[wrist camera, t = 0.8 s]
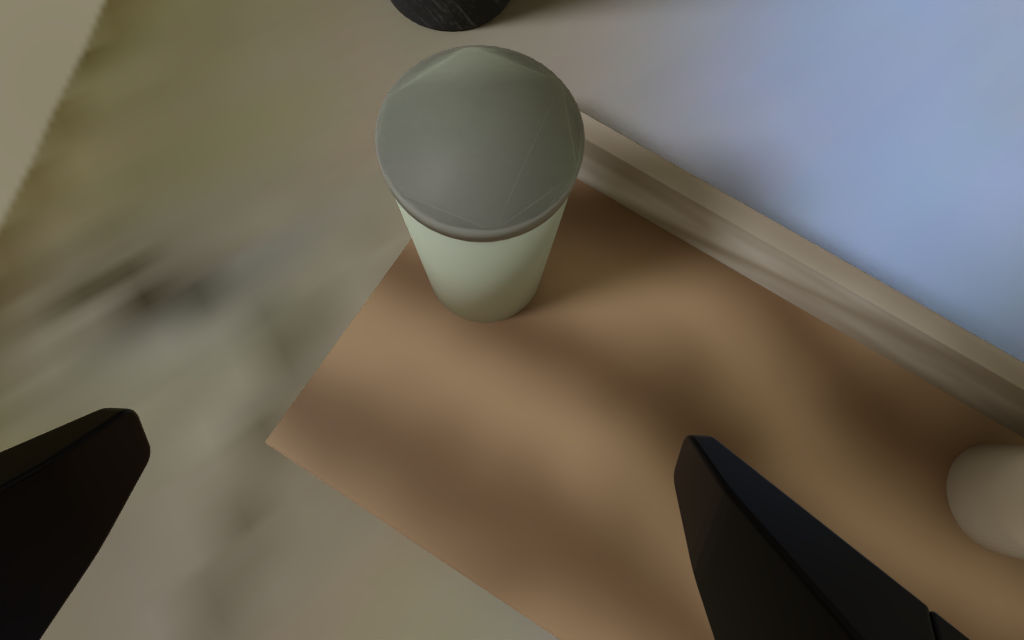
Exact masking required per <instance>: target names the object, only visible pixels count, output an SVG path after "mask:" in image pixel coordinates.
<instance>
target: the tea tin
mask: <svg viewBox="0 0 1024 640" xmlns="http://www.w3.org/2000/svg"><path fill="white" fill-rule="evenodd" d="M375 146H376V152H377V158H378V161H379V164H380V167H381V170H382V172H383V175H384V177H385V180H386V182H387V184H388V186H389V188H390V190H391V192H392V194H393V195H394V197H395V198H396V201H397V203H398V206H399V208H400V211H401V213H402V215H403V218H404V220H405V223H406V225H407V228H408V230H409V233H410V235H411V237H412V240H413V242H414V245H415V247H416V250H417V252H418V254H419V257H420V259H421V262H422V264H423V267H424V269H425V271H426V274H427V276H428V279H429V281H430V284H431V286H432V288H433V290H434V293H435V295H436V296H437V298H438V299H439V301H440V302H441V303H442V304H443V305H444V306H445V307H446V308H447V309H448V310H449V311H451V312H452V313H454V314H455V315H457V316H459V317H461V318H464V319H466V320H469V321H474V322H482V323H488V322H496V321H501V320H504V319H507V318H509V317H511V316H513V315H515V314H516V313H518V312H520V311H521V310H522V309H523V308H524V307H526V305H527V304H528V303H529V302H530V301H531V299H532V298H533V296H534V295H535V293H536V291H537V289H538V286H539V283H540V280H541V277H542V274H543V271H544V268H545V265H546V262H547V259H548V256H549V253H550V250H551V247H552V244H553V241H554V238H555V235H556V232H557V229H558V226H559V223H560V220H561V217H562V214H563V211H564V208H565V205H566V203H567V200H568V197H569V195H570V193H571V191H572V189H573V187H574V185H575V182H576V179H577V176H578V173H579V170H580V167H581V164H582V161H583V156H584V150H585V132H584V124H583V120H582V116H581V113H580V110H579V108H578V105H577V103H576V101H575V99H574V98H573V96H572V94H571V93H570V91H569V90H568V88H567V87H566V86H565V84H564V83H563V82H562V81H561V80H560V79H559V78H558V77H557V76H556V75H555V74H554V73H553V72H552V71H550V70H549V69H548V68H547V67H545V66H544V65H543V64H541V63H539V62H538V61H536V60H534V59H533V58H530V57H528V56H526V55H524V54H522V53H519V52H516V51H513V50H510V49H505V48H500V47H495V46H484V45H475V46H463V47H456V48H452V49H448V50H444V51H441V52H439V53H436V54H434V55H431V56H429V57H427V58H425V59H424V60H422V61H420V62H418V63H417V64H416V65H414V66H413V67H411V68H410V69H409V70H408V71H406V72H405V73H404V74H403V75H402V76H401V77H400V78H399V79H398V80H397V81H396V83H395V84H394V85H393V86H392V88H391V89H390V91H389V92H388V94H387V95H386V97H385V99H384V101H383V104H382V106H381V108H380V111H379V115H378V118H377V123H376V130H375Z"/></svg>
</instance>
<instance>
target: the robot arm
mask: <svg viewBox="0 0 1024 640" xmlns="http://www.w3.org/2000/svg"><path fill="white" fill-rule="evenodd" d="M149 457H150V445H149V442H148V440H147V437H146V435H145V432H144V429H143V427H142V424H141V422H140V419H139V417H138V415H137V413H136V412H134V411H133V410H131V409H123V408H104V409H100V410H97V411H95V412H93V413H90V414H88V415H86V416H84V417H81V418H79V419H77V420H74V421H72V422H70V423H67V424H65V425H63V426H60V427H58V428H56V429H53V430H51V431H49V432H46V433H44V434H42V435H39V436H37V437H35V438H32V439H30V440H28V441H26V442H23V443H21V444H19V445H16V446H14V447H12V448H9V449H7V450H5V451H2V452H0V640H40V639H41V637H42V636H43V634H44V633H45V631H46V630H47V628H48V627H49V625H50V624H51V622H52V621H53V619H54V618H55V616H56V615H57V613H58V612H59V610H60V609H61V607H62V606H63V604H64V603H65V601H66V600H67V598H68V597H69V595H70V594H71V593H72V591H73V590H74V588H75V587H76V585H77V584H78V582H79V581H80V579H81V578H82V576H83V575H84V573H85V572H86V570H87V569H88V567H89V566H90V564H91V563H92V561H93V560H94V558H95V556H96V555H97V553H98V552H99V550H100V548H101V547H102V545H103V543H104V541H105V540H106V538H107V536H108V534H109V533H110V531H111V529H112V527H113V525H114V523H115V522H116V520H117V518H118V516H119V514H120V513H121V511H122V509H123V507H124V505H125V503H126V502H127V500H128V498H129V496H130V494H131V492H132V491H133V489H134V487H135V485H136V483H137V481H138V480H139V478H140V476H141V474H142V472H143V470H144V469H145V467H146V465H147V463H148V460H149ZM674 486H675V491H676V496H677V500H678V505H679V510H680V514H681V519H682V524H683V529H684V533H685V538H686V543H687V548H688V552H689V557H690V561H691V566H692V570H693V574H694V577H695V580H696V584H697V587H698V590H699V593H700V596H701V600H702V603H703V606H704V609H705V612H706V615H707V618H708V621H709V624H710V627H711V630H712V633H713V636H714V639H715V640H970V639H969V638H968V637H966V636H965V635H964V634H962V633H961V632H960V631H959V630H957V629H956V628H955V627H954V626H952V625H951V624H950V623H948V622H947V621H946V620H945V619H943V618H942V617H941V616H940V615H938V614H937V613H936V612H934V611H929V609H928V607H927V605H925V604H924V603H923V602H922V601H920V600H919V599H918V598H917V597H915V596H914V595H913V594H912V593H910V592H909V591H908V590H906V589H905V588H904V587H903V586H901V585H900V584H899V583H898V582H896V581H895V580H894V579H893V578H891V577H890V576H889V575H887V574H886V573H885V572H884V571H882V570H881V569H880V568H879V567H877V566H876V565H875V564H874V563H872V562H871V561H870V560H868V559H867V558H866V557H865V556H863V555H862V554H861V553H860V552H858V551H857V550H856V549H855V548H853V547H852V546H851V545H849V544H848V543H847V542H846V541H844V540H843V539H842V538H841V537H839V536H838V535H837V534H836V533H834V532H833V531H832V530H830V529H829V528H828V527H827V526H825V525H824V524H823V523H822V522H820V521H819V520H818V519H817V518H815V517H814V516H813V515H811V514H810V513H809V512H808V511H806V510H805V509H804V508H803V507H801V506H800V505H799V504H798V503H796V502H795V501H794V500H793V499H791V498H790V497H789V496H787V495H786V494H785V493H784V492H782V491H781V490H780V489H779V488H777V487H776V486H775V485H774V484H772V483H771V482H770V481H768V480H767V479H766V478H765V477H763V476H762V475H761V474H760V473H758V472H757V471H756V470H755V469H753V468H752V467H751V466H749V465H748V464H747V463H746V462H744V461H743V460H742V459H741V458H739V457H738V456H737V455H736V454H734V453H733V452H732V451H730V450H729V449H728V448H727V447H725V446H724V445H723V444H722V443H720V442H719V441H718V440H717V439H715V438H714V437H712V436H709V435H687V436H686V437H685V438H684V440H683V442H682V446H681V449H680V452H679V456H678V459H677V462H676V466H675V469H674Z"/></svg>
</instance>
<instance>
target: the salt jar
mask: <svg viewBox="0 0 1024 640" xmlns="http://www.w3.org/2000/svg"><path fill="white" fill-rule="evenodd" d="M946 491H947V499H948V503H949V506H950V509H951V512H952V514H953V516H954V518H955V520H956V522H957V523H958V525H959V526H960V528H961V529H962V530H963V532H964V533H965V534H966V535H967V536H968V537H969V538H970V539H971V540H973V541H974V542H975V543H976V544H978V545H979V546H981V547H983V548H985V549H987V550H989V551H991V552H994V553H998V554H1002V555H1006V556H1010V557H1015V558H1019V559H1023V560H1024V445H1007V444H980V445H975V446H972V447H970V448H968V449H966V450H964V451H963V452H962V453H960V454H959V455H958V456H957V458H956V459H955V460H954V462H953V463H952V465H951V467H950V469H949V473H948V476H947V485H946Z"/></svg>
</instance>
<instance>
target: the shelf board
mask: <svg viewBox="0 0 1024 640" xmlns="http://www.w3.org/2000/svg"><path fill="white" fill-rule="evenodd" d="M580 113H581V116H582V120H583V124H584V132H585V150H584V156H583V161H582V164H581V167H580V170H579V173H578V176H577V179H576V182H575V185H574V187H573V189H572V191H571V193H570V195H569V197H568V200H567V203H566V205H565V208H564V211H563V214H562V217H561V220H560V223H559V226H558V229H557V232H556V235H555V238H554V241H553V244H552V247H551V250H550V253H549V256H548V259H547V262H546V265H545V268H544V271H543V274H542V277H541V280H540V283H539V286H538V289H537V291H536V293H535V295H534V296H533V298H532V299H531V301H530V302H529V303H528V304H527V305H526V307H524V308H523V309H522V310H521V311H520V312H518V313H516V314H515V315H513V316H511V317H509V318H507V319H504V320H501V321H496V322H488V323H482V322H474V321H469V320H466V319H464V318H461V317H459V316H457V315H455V314H454V313H452V312H451V311H449V310H448V309H447V308H446V307H445V306H444V305H443V304H442V303H441V302H440V301H439V299H438V298H437V296H436V295H435V293H434V290H433V288H432V286H431V284H430V281H429V279H428V276H427V274H426V271H425V269H424V267H423V264H422V262H421V259H420V257H419V254H418V252H417V250H416V247H415V245H414V242H413V240H412V239H411V240H410V242H409V243H408V244H407V246H406V247H405V249H404V250H403V251H402V253H401V254H400V255H399V257H398V258H397V260H396V261H395V262H394V264H393V265H392V267H391V268H390V269H389V271H388V272H387V274H386V275H385V276H384V278H383V279H382V280H381V282H380V283H379V285H378V286H377V287H376V289H375V290H374V292H373V293H372V294H371V296H370V297H369V298H368V300H367V301H366V303H365V304H364V305H363V307H362V308H361V310H360V311H359V312H358V314H357V315H356V316H355V318H354V319H353V321H352V322H351V323H350V325H349V326H348V328H347V329H346V330H345V332H344V333H343V335H342V336H341V337H340V339H339V340H338V341H337V343H336V344H335V346H334V347H333V348H332V350H331V351H330V353H329V354H328V355H327V357H326V358H325V359H324V361H323V362H322V364H321V365H320V366H319V368H318V369H317V371H316V372H315V373H314V375H313V376H312V378H311V379H310V380H309V382H308V383H307V384H306V386H305V387H304V389H303V390H302V391H301V393H300V394H299V396H298V397H297V398H296V400H295V401H294V402H293V404H292V405H291V407H290V408H289V409H288V411H287V412H286V414H285V415H284V416H283V418H282V419H281V421H280V422H279V423H278V425H277V426H276V427H275V429H274V430H273V432H272V433H271V434H270V436H269V437H268V439H267V440H266V441H265V443H266V444H268V445H269V446H271V447H272V448H274V449H275V450H277V451H278V452H280V453H281V454H283V455H284V456H286V457H287V458H289V459H290V460H292V461H293V462H295V463H296V464H298V465H299V466H301V467H302V468H304V469H305V470H307V471H308V472H310V473H311V474H313V475H314V476H316V477H317V478H319V479H320V480H322V481H323V482H325V483H326V484H328V485H329V486H331V487H332V488H334V489H335V490H337V491H338V492H340V493H341V494H343V495H344V496H346V497H347V498H349V499H350V500H352V501H353V502H355V503H356V504H358V505H359V506H361V507H362V508H364V509H365V510H367V511H368V512H370V513H371V514H373V515H374V516H376V517H377V518H379V519H380V520H382V521H383V522H385V523H386V524H388V525H389V526H391V527H392V528H394V529H395V530H397V531H398V532H400V533H401V534H403V535H404V536H406V537H407V538H409V539H410V540H412V541H413V542H415V543H416V544H418V545H419V546H421V547H422V548H423V549H425V550H426V551H428V552H429V553H431V554H432V555H434V556H435V557H437V558H438V559H440V560H441V561H443V562H444V563H446V564H447V565H449V566H450V567H452V568H453V569H455V570H456V571H458V572H459V573H461V574H462V575H464V576H465V577H467V578H468V579H470V580H471V581H473V582H474V583H476V584H477V585H479V586H480V587H482V588H483V589H485V590H486V591H488V592H489V593H491V594H492V595H494V596H495V597H497V598H498V599H500V600H501V601H503V602H504V603H506V604H507V605H509V606H510V607H512V608H513V609H515V610H516V611H518V612H519V613H521V614H522V615H524V616H525V617H527V618H528V619H530V620H531V621H533V622H534V623H536V624H537V625H539V626H540V627H542V628H543V629H545V630H546V631H548V632H549V633H551V634H552V635H554V636H555V637H557V638H558V639H560V640H715V639H714V636H713V633H712V630H711V627H710V624H709V621H708V618H707V615H706V612H705V609H704V606H703V603H702V600H701V596H700V593H699V590H698V587H697V584H696V580H695V577H694V574H693V570H692V566H691V561H690V557H689V552H688V548H687V543H686V538H685V533H684V529H683V524H682V519H681V514H680V510H679V505H678V500H677V496H676V491H675V486H674V469H675V466H676V462H677V459H678V456H679V452H680V449H681V446H682V442H683V440H684V438H685V437H686V436H687V435H709V436H712V437H714V438H715V439H717V440H718V441H719V442H720V443H722V444H723V445H724V446H725V447H727V448H728V449H729V450H730V451H732V452H733V453H734V454H736V455H737V456H738V457H739V458H741V459H742V460H743V461H744V462H746V463H747V464H748V465H749V466H751V467H752V468H753V469H755V470H756V471H757V472H758V473H760V474H761V475H762V476H763V477H765V478H766V479H767V480H768V481H770V482H771V483H772V484H774V485H775V486H776V487H777V488H779V489H780V490H781V491H782V492H784V493H785V494H786V495H787V496H789V497H790V498H791V499H793V500H794V501H795V502H796V503H798V504H799V505H800V506H801V507H803V508H804V509H805V510H806V511H808V512H809V513H810V514H811V515H813V516H814V517H815V518H817V519H818V520H819V521H820V522H822V523H823V524H824V525H825V526H827V527H828V528H829V529H830V530H832V531H833V532H834V533H836V534H837V535H838V536H839V537H841V538H842V539H843V540H844V541H846V542H847V543H848V544H849V545H851V546H852V547H853V548H855V549H856V550H857V551H858V552H860V553H861V554H862V555H863V556H865V557H866V558H867V559H868V560H870V561H871V562H872V563H874V564H875V565H876V566H877V567H879V568H880V569H881V570H882V571H884V572H885V573H886V574H887V575H889V576H890V577H891V578H893V579H894V580H895V581H896V582H898V583H899V584H900V585H901V586H903V587H904V588H905V589H906V590H908V591H909V592H910V593H912V594H913V595H914V596H915V597H917V598H918V599H919V600H920V601H922V602H923V603H924V604H925V605H927V607H928V609H929V611H934V612H936V613H937V614H938V615H940V616H941V617H942V618H943V619H945V620H946V621H947V622H948V623H950V624H951V625H952V626H954V627H955V628H956V629H957V630H959V631H960V632H961V633H962V634H964V635H965V636H966V637H968V638H969V639H970V640H1024V560H1023V559H1019V558H1015V557H1010V556H1006V555H1002V554H998V553H994V552H991V551H989V550H987V549H985V548H983V547H981V546H979V545H978V544H976V543H975V542H974V541H973V540H971V539H970V538H969V537H968V536H967V535H966V534H965V533H964V532H963V530H962V529H961V528H960V526H959V525H958V523H957V522H956V520H955V518H954V516H953V514H952V512H951V509H950V506H949V503H948V499H947V491H946V485H947V476H948V473H949V469H950V467H951V465H952V463H953V462H954V460H955V459H956V458H957V456H958V455H959V454H960V453H962V452H963V451H964V450H966V449H968V448H970V447H972V446H975V445H980V444H1007V445H1024V363H1023V362H1021V361H1020V360H1018V359H1016V358H1014V357H1013V356H1011V355H1009V354H1007V353H1006V352H1004V351H1002V350H1000V349H998V348H997V347H995V346H993V345H991V344H990V343H988V342H986V341H984V340H983V339H981V338H979V337H977V336H976V335H974V334H972V333H970V332H968V331H967V330H965V329H963V328H961V327H960V326H958V325H956V324H954V323H953V322H951V321H949V320H947V319H946V318H944V317H942V316H940V315H939V314H937V313H935V312H933V311H931V310H930V309H928V308H926V307H924V306H923V305H921V304H919V303H917V302H916V301H914V300H912V299H910V298H909V297H907V296H905V295H903V294H901V293H900V292H898V291H896V290H894V289H893V288H891V287H889V286H887V285H886V284H884V283H882V282H880V281H879V280H877V279H875V278H873V277H872V276H870V275H868V274H866V273H864V272H863V271H861V270H859V269H857V268H856V267H854V266H852V265H850V264H849V263H847V262H845V261H843V260H842V259H840V258H838V257H836V256H834V255H833V254H831V253H829V252H827V251H826V250H824V249H822V248H820V247H819V246H817V245H815V244H813V243H812V242H810V241H808V240H806V239H805V238H803V237H801V236H799V235H797V234H796V233H794V232H792V231H790V230H789V229H787V228H785V227H783V226H782V225H780V224H778V223H776V222H775V221H773V220H771V219H769V218H767V217H766V216H764V215H762V214H760V213H759V212H757V211H755V210H753V209H752V208H750V207H748V206H746V205H745V204H743V203H741V202H739V201H738V200H736V199H734V198H732V197H730V196H729V195H727V194H725V193H723V192H722V191H720V190H718V189H716V188H715V187H713V186H711V185H709V184H708V183H706V182H704V181H702V180H700V179H699V178H697V177H695V176H693V175H692V174H690V173H688V172H686V171H685V170H683V169H681V168H679V167H678V166H676V165H674V164H672V163H671V162H669V161H667V160H665V159H663V158H662V157H660V156H658V155H656V154H655V153H653V152H651V151H649V150H648V149H646V148H644V147H642V146H641V145H639V144H637V143H635V142H634V141H632V140H630V139H628V138H626V137H625V136H623V135H621V134H619V133H618V132H616V131H614V130H612V129H611V128H609V127H607V126H605V125H604V124H602V123H600V122H598V121H596V120H595V119H593V118H591V117H589V116H588V115H586V114H584V113H582V112H581V111H580Z"/></svg>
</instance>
